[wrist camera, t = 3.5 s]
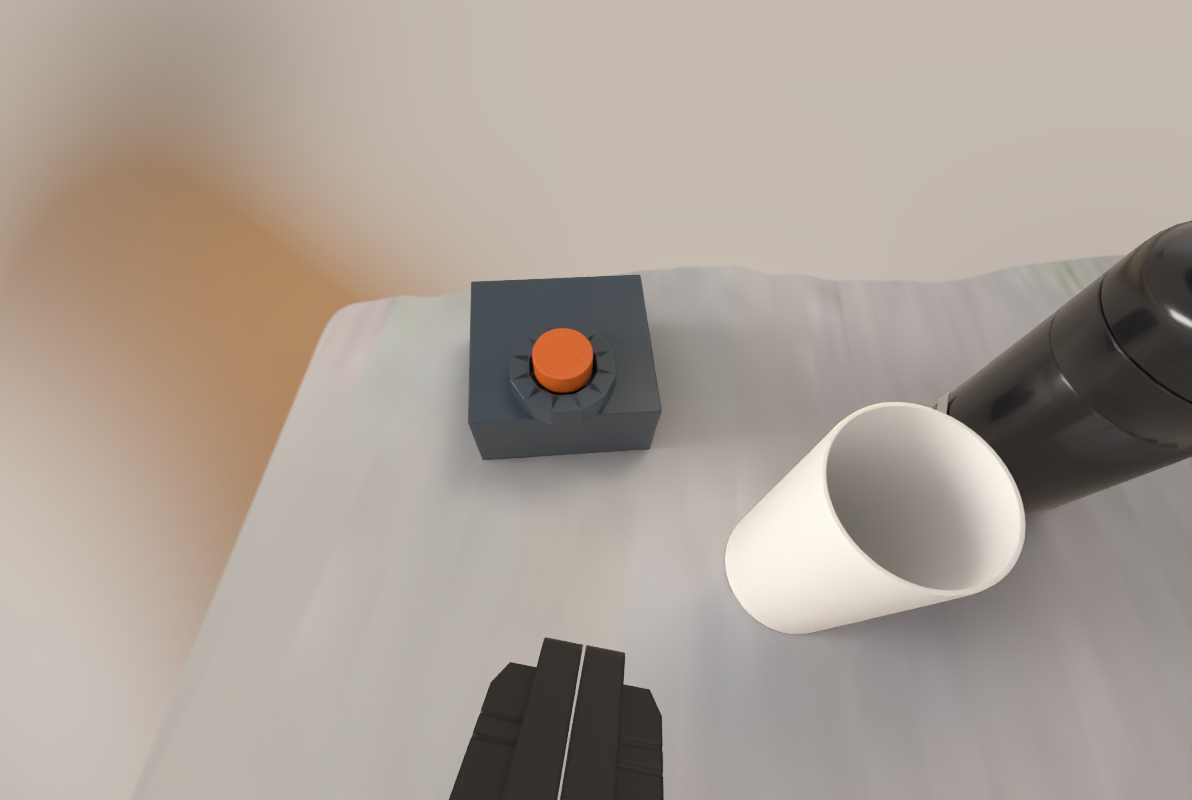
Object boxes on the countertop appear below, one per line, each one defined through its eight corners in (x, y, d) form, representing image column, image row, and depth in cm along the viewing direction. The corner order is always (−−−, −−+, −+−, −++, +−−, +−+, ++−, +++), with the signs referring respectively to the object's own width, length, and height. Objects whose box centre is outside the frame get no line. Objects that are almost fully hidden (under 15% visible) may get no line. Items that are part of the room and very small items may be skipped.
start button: (589, 342, 35) (590, 326, 34) (594, 391, 34) (595, 377, 32) (533, 345, 35) (531, 329, 33) (535, 395, 33) (533, 380, 32)
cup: (834, 657, 34) (1019, 635, 20) (708, 600, 35) (798, 541, 21) (860, 536, 38) (1033, 445, 24) (745, 488, 39) (843, 373, 25)
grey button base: (632, 324, 45) (643, 256, 38) (650, 456, 40) (667, 406, 33) (483, 331, 44) (466, 263, 37) (482, 467, 39) (462, 418, 32)
